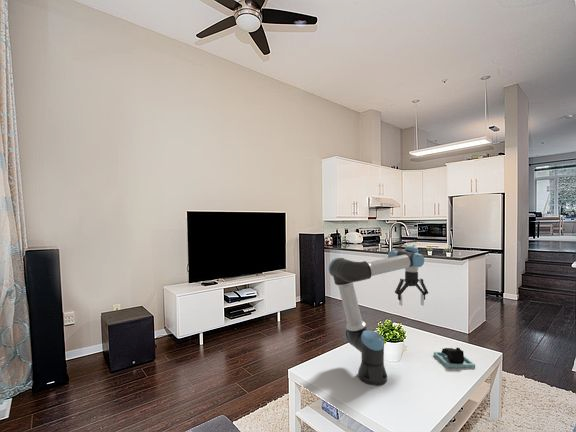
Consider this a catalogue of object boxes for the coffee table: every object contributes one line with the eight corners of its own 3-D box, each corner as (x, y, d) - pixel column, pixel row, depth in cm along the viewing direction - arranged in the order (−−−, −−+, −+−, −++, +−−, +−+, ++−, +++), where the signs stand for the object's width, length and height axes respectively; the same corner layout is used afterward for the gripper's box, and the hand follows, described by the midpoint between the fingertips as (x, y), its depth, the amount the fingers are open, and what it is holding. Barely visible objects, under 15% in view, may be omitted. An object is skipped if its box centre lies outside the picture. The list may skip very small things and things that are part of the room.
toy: (453, 343, 189) (465, 349, 175) (454, 356, 188) (466, 364, 173) (438, 342, 190) (448, 348, 175) (439, 356, 189) (449, 363, 174)
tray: (447, 368, 172) (447, 364, 172) (433, 355, 188) (433, 352, 188) (475, 368, 172) (475, 364, 172) (458, 354, 188) (458, 351, 188)
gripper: (394, 272, 183) (394, 307, 183) (434, 272, 184) (434, 306, 184) (389, 270, 190) (389, 303, 191) (428, 269, 191) (428, 303, 191)
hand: (411, 305), depth 187 cm, fingers open, 13 cm apart
